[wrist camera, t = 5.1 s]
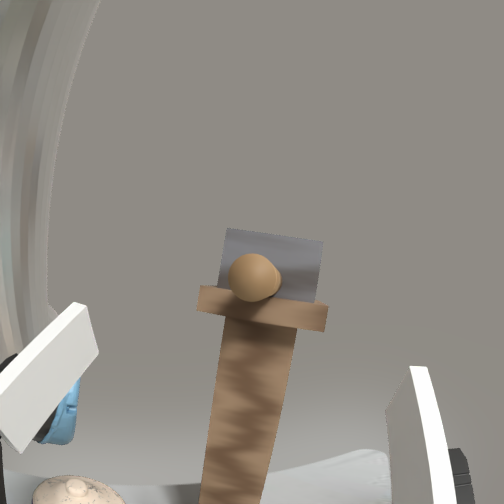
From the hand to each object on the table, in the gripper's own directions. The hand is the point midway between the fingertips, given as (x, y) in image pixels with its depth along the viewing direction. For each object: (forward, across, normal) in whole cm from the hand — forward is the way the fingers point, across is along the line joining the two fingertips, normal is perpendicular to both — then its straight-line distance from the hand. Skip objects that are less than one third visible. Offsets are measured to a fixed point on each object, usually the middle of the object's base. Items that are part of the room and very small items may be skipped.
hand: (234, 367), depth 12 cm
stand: (+1, 0, -33) cm, 33 cm away
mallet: (+11, 0, -4) cm, 12 cm away
